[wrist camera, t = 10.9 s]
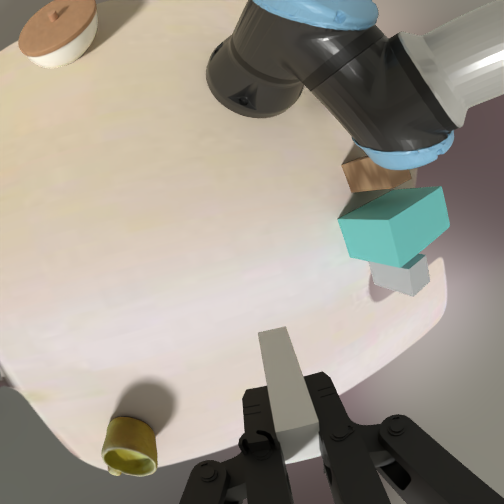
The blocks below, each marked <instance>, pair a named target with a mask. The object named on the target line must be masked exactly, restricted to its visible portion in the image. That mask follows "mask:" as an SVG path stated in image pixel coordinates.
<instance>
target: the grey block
mask: <svg viewBox="0 0 504 504" xmlns="http://www.w3.org/2000/svg"><path fill="white" fill-rule="evenodd" d="M368 262H369V265H370V269H371V273H372V277H373V281H374V285H378V286H381V287H384V288H387V289H391V290H394V291H397V292H400V293H403V294H406V295H410V296H413V297H414V296H415V295H416V294H417V293H418V292H419V291H420V290H421V289H422V288H423V287H425V286H426V285H427V284H428V283H429V282H430V277H429V270H428V264H427V258H426V255H423V254H417V255H416V256H415V257H413V258H412V259H411V260H410V261H408V262H407V263H406V264H405V265H403V266H402V267H401V268H398V267H393V266H389V265H384V264H379V263H375V262H370V261H368Z"/></svg>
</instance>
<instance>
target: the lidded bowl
mask: <svg viewBox="0 0 504 504" xmlns="http://www.w3.org/2000/svg"><path fill="white" fill-rule="evenodd" d="M97 26H98V15H97V10H96V2H95V0H54V1H52V2H50V3H49V4H47V5H45V6H44V7H43V8H41V9H40V10H39V11H38V12H37V13H35V14H34V15H33V16H32V17H31V18H30V20H29V21H28V22H27V24H26V25H25V26H24V28H23V30H22V32H21V34H20V36H19V41H18V45H19V48H20V50H21V51H22V53H23V54H25V55H26V56H27V57H28V59H29V60H30V61H32V62H33V63H34V64H36V65H38V66H40V67H43V68H58V67H61V66H65V65H68V64H70V63H72V62H74V61H76V60H77V59H78V58H79V57H81V56H82V54H83V53H84V52H85V51H86V50H87V49H88V47H89V46H90V45H91V43H92V41H93V39H94V37H95V35H96V32H97Z"/></svg>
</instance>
